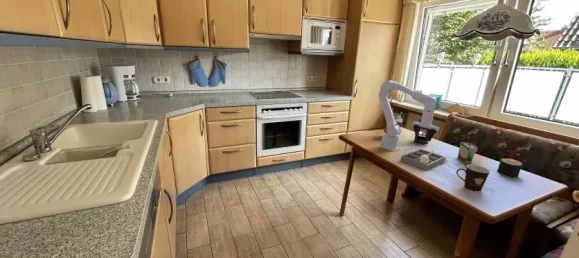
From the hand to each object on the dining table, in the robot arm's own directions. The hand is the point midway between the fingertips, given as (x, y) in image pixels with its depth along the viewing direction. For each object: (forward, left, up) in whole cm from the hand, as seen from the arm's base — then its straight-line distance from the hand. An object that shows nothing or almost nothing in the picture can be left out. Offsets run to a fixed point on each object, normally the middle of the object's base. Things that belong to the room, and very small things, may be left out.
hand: (422, 139), depth 149 cm
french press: (-12, +26, -11) cm, 31 cm away
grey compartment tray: (+6, -8, -10) cm, 14 cm away
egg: (+10, -15, -10) cm, 20 cm away
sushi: (+39, +16, -11) cm, 43 cm away
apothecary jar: (-29, +15, -11) cm, 34 cm away
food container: (+20, +16, -11) cm, 28 cm away
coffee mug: (+33, -19, -11) cm, 40 cm away
